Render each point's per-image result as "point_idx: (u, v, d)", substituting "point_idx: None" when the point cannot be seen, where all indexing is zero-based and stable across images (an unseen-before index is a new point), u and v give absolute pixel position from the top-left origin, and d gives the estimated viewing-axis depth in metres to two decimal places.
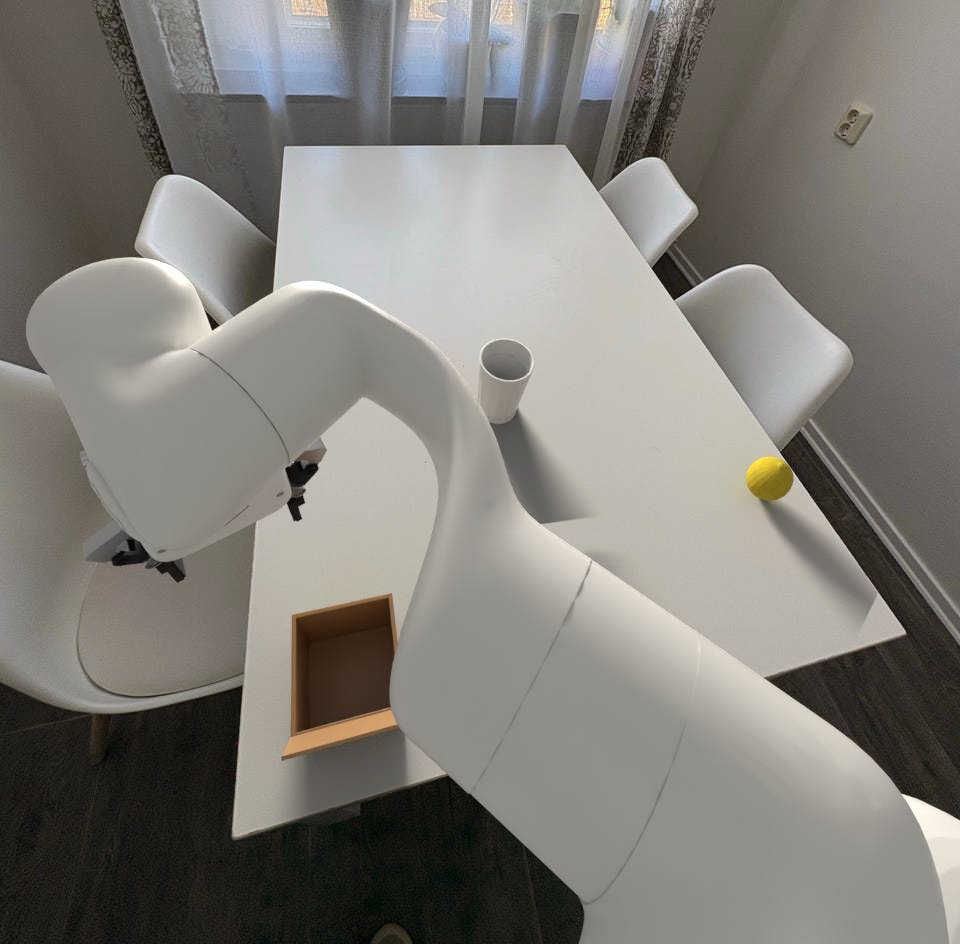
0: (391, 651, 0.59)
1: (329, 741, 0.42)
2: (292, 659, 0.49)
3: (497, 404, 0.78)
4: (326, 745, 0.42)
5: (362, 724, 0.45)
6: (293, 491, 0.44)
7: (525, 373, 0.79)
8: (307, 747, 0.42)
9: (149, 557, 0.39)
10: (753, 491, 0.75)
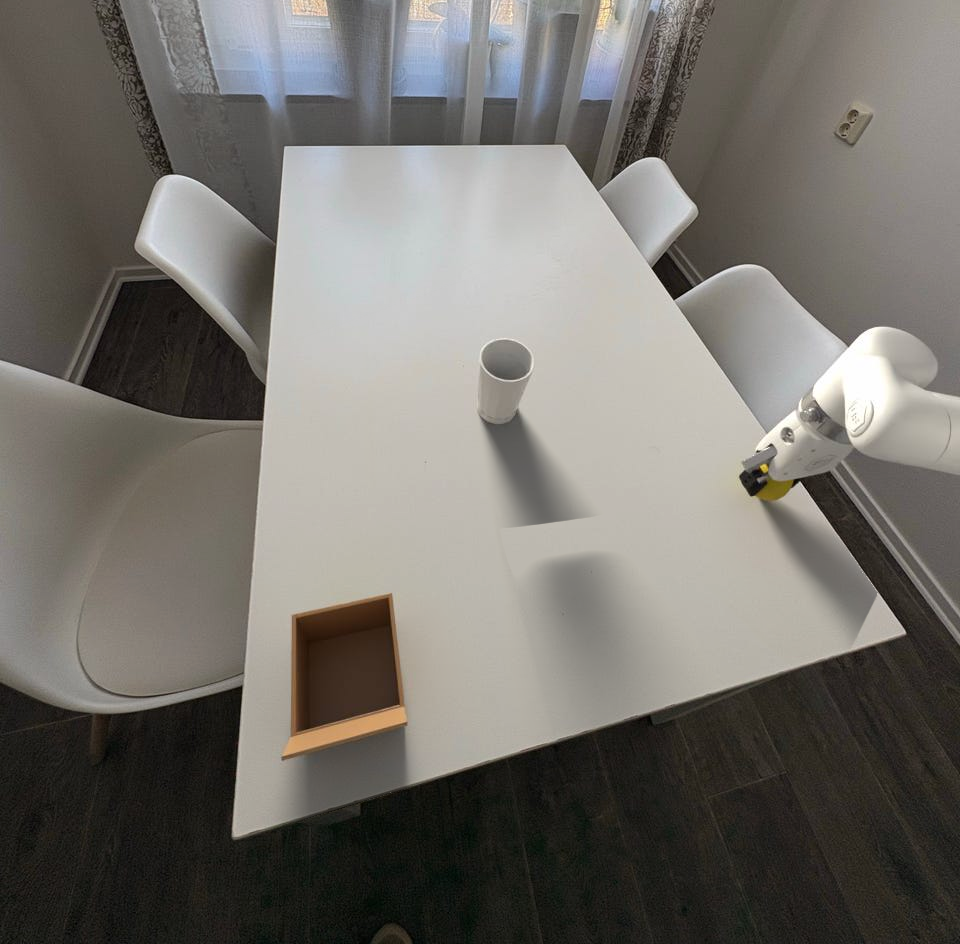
0: (391, 651, 0.59)
1: (329, 741, 0.42)
2: (292, 659, 0.49)
3: (497, 404, 0.78)
4: (326, 745, 0.42)
5: (362, 724, 0.45)
6: None
7: (525, 373, 0.79)
8: (307, 747, 0.42)
9: None
10: None
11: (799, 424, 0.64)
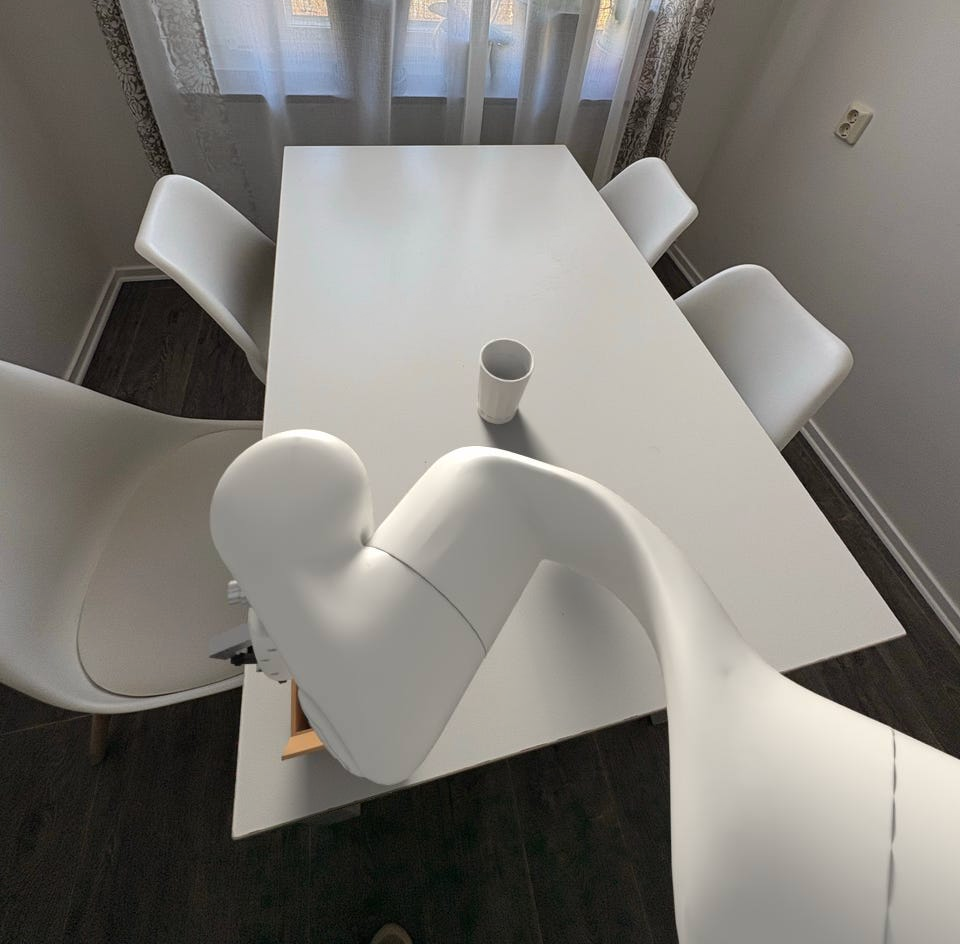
0: None
1: None
2: None
3: (497, 404, 0.78)
4: None
5: None
6: None
7: (525, 373, 0.79)
8: (307, 747, 0.42)
9: None
10: None
11: None
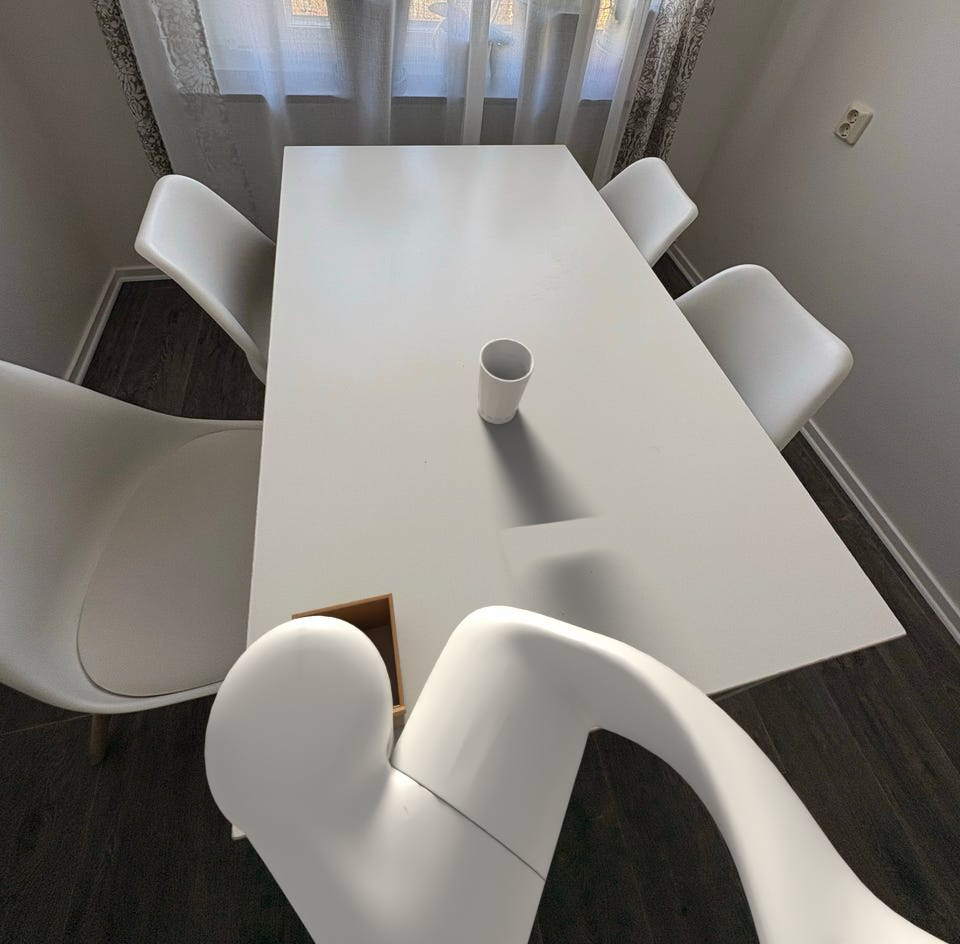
0: (391, 651, 0.59)
1: None
2: None
3: (497, 404, 0.78)
4: None
5: None
6: None
7: (525, 373, 0.79)
8: None
9: None
10: None
11: None
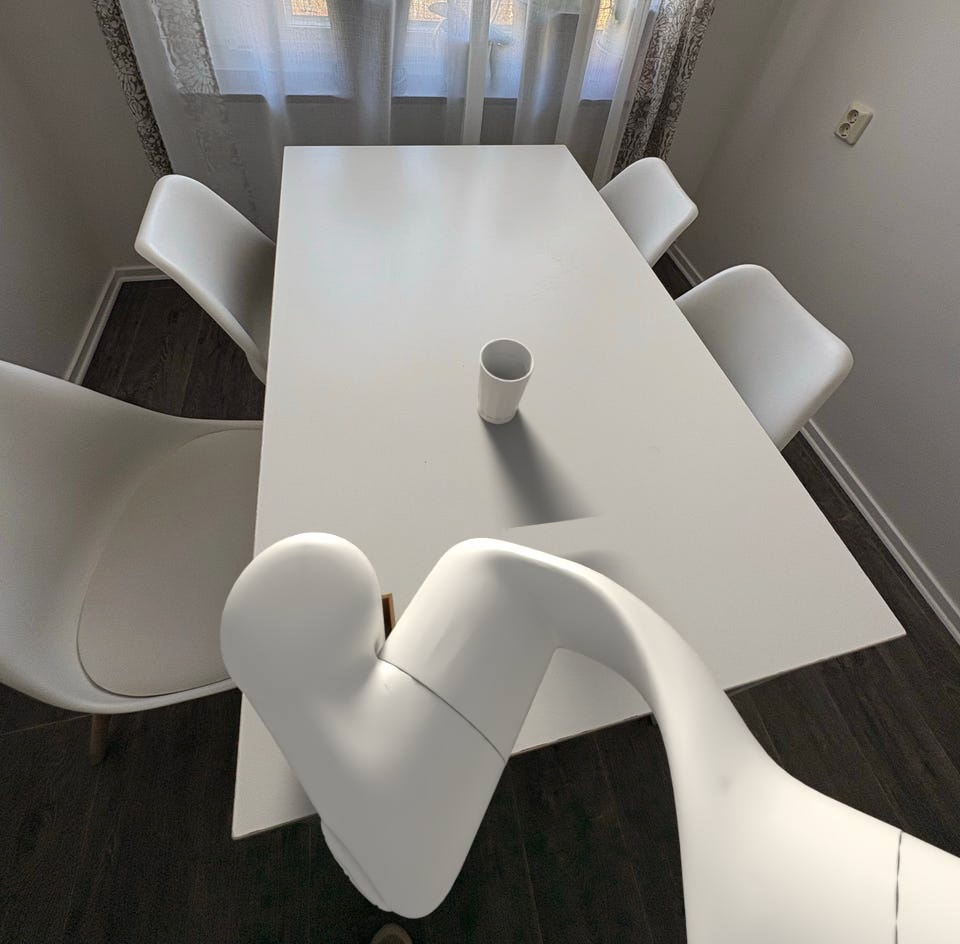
0: None
1: None
2: None
3: (497, 404, 0.78)
4: None
5: None
6: None
7: (525, 373, 0.79)
8: None
9: None
10: None
11: None
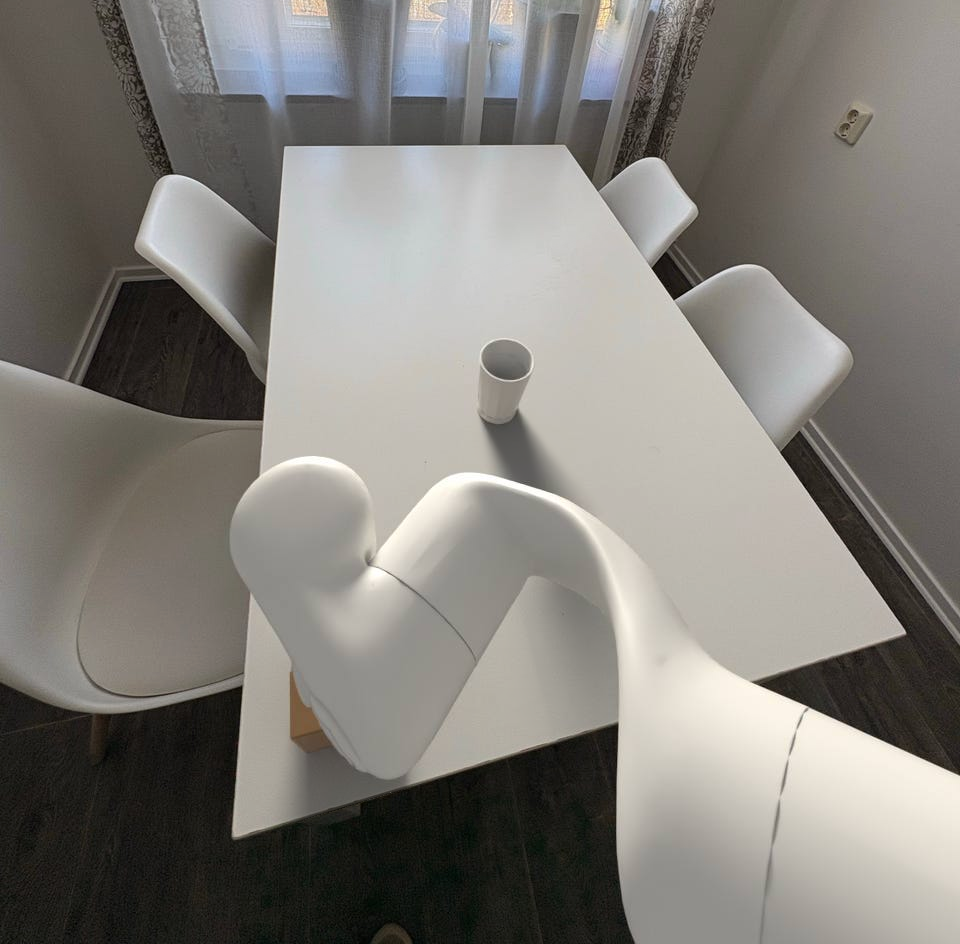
0: None
1: None
2: None
3: (497, 404, 0.78)
4: None
5: None
6: None
7: (525, 373, 0.79)
8: None
9: None
10: None
11: None
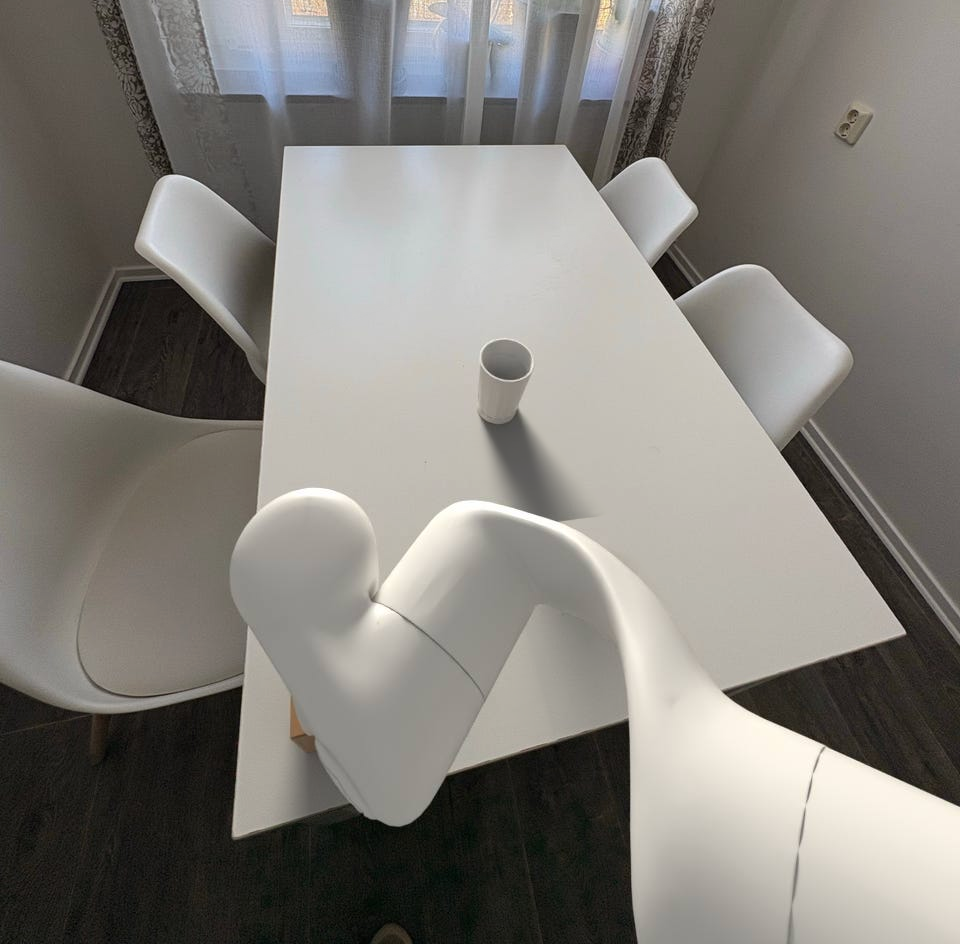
0: None
1: None
2: None
3: (497, 404, 0.78)
4: None
5: None
6: None
7: (525, 373, 0.79)
8: None
9: None
10: None
11: None
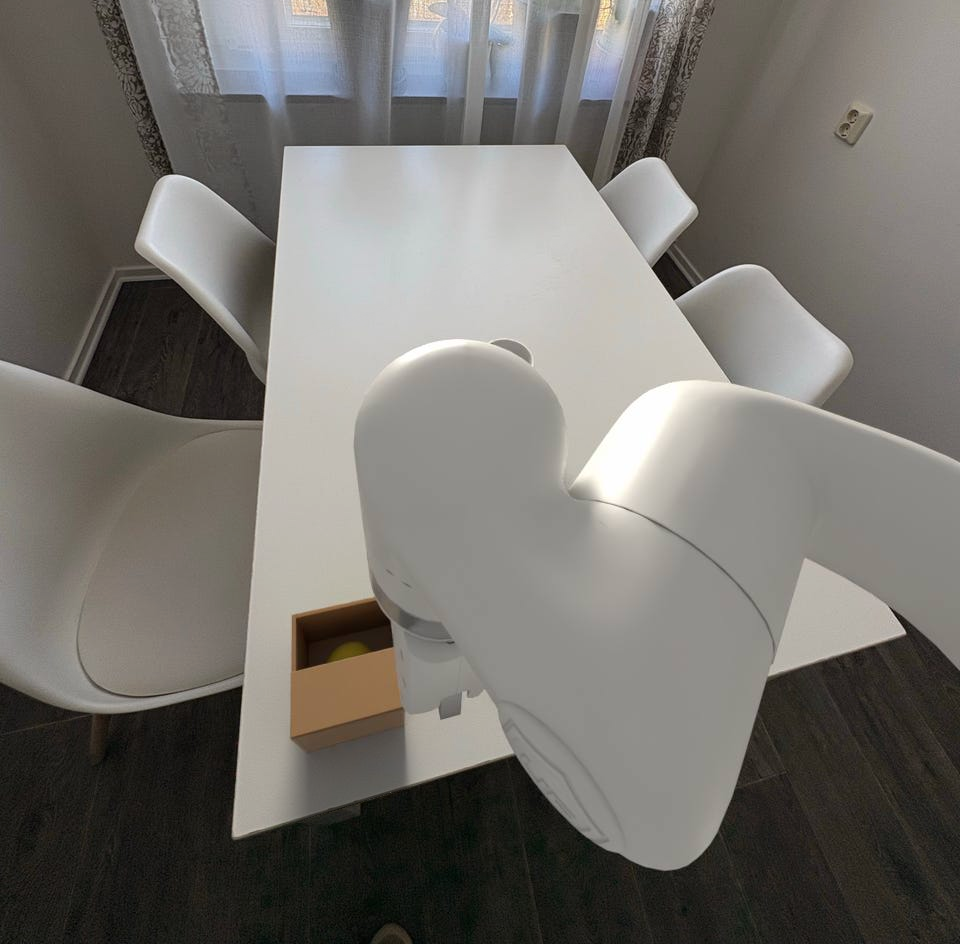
0: None
1: None
2: (292, 659, 0.49)
3: None
4: None
5: None
6: None
7: None
8: None
9: None
10: None
11: None
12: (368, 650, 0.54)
